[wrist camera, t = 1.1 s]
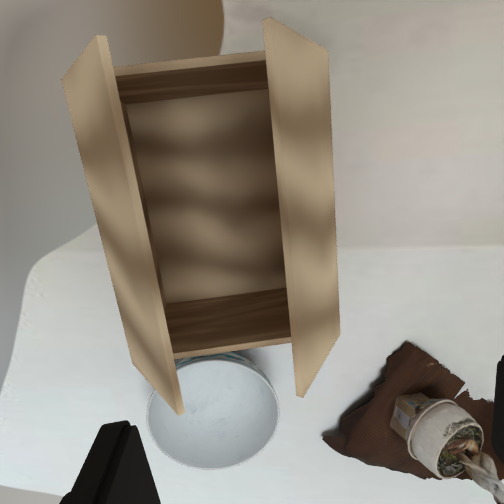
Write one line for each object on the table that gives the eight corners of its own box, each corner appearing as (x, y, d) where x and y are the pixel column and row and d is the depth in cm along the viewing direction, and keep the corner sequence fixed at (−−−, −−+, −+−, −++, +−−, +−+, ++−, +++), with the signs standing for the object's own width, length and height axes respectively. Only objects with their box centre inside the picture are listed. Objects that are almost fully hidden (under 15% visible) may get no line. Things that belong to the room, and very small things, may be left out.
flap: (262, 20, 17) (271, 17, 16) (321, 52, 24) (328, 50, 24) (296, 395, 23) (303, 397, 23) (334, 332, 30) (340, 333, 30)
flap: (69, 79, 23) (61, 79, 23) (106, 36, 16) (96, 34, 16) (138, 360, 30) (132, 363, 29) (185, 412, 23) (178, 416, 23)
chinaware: (136, 362, 43) (118, 405, 36) (232, 304, 42) (234, 336, 35) (201, 437, 48) (196, 489, 40) (290, 386, 46) (303, 430, 39)
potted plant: (386, 327, 48) (626, 474, 25) (452, 364, 56) (676, 499, 34) (316, 444, 48) (491, 689, 26) (392, 464, 57) (574, 660, 34)
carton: (120, 99, 35) (68, 71, 23) (289, 81, 36) (320, 44, 24) (163, 306, 42) (139, 364, 30) (304, 287, 42) (334, 336, 31)
